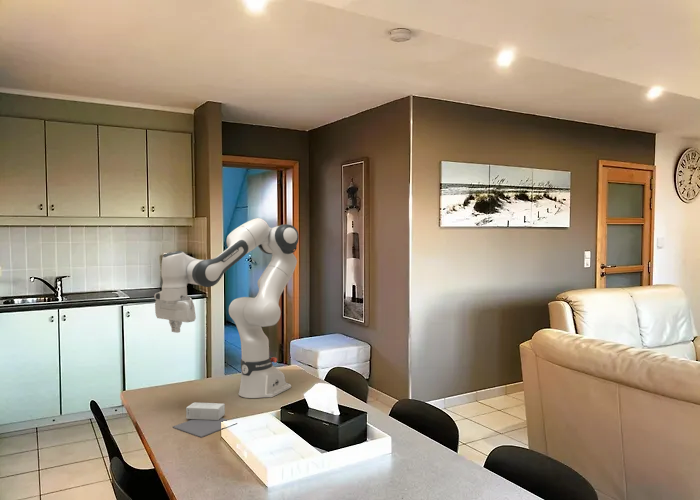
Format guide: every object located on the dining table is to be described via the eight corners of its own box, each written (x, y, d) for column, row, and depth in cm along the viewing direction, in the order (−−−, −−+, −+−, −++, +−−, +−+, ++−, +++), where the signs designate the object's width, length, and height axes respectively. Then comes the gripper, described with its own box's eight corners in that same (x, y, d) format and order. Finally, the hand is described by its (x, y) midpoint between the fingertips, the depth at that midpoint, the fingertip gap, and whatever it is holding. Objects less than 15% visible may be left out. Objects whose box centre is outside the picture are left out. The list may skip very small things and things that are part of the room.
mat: (208, 414, 192) (208, 413, 192) (237, 423, 183) (237, 422, 183) (172, 427, 180) (172, 426, 180) (201, 437, 171) (201, 436, 171)
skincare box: (186, 419, 187) (218, 420, 185) (185, 407, 187) (217, 408, 185) (193, 413, 193) (225, 414, 191) (193, 401, 193) (224, 403, 191)
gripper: (199, 295, 194) (200, 333, 194) (166, 292, 206) (167, 328, 207) (184, 297, 189) (185, 336, 189) (151, 294, 201) (152, 330, 202)
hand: (175, 332), depth 198 cm, fingers closed
